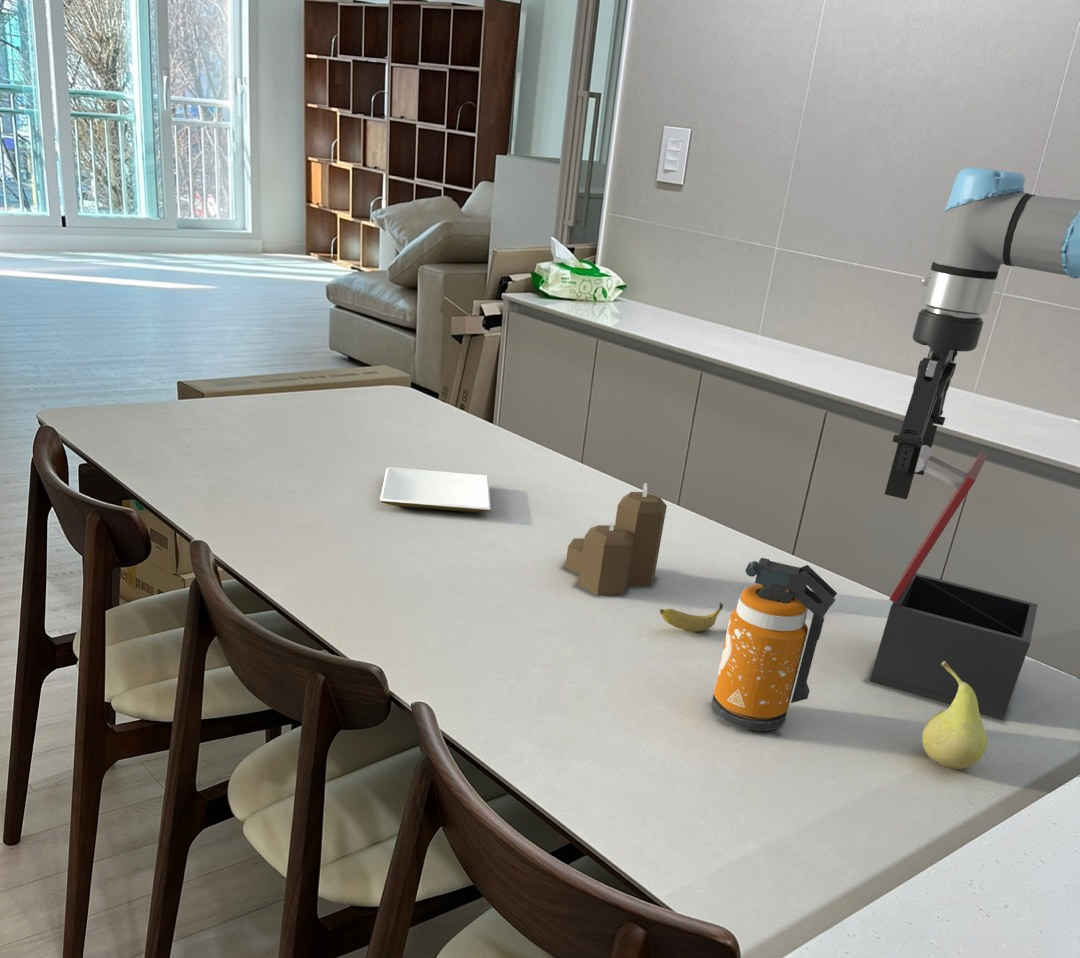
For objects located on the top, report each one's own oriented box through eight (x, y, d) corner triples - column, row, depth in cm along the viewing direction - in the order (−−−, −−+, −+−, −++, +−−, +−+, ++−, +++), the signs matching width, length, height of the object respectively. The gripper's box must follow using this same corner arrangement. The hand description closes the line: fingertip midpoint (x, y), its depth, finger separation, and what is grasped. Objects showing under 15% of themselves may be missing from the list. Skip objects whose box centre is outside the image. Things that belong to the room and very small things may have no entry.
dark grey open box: (1011, 676, 147) (1038, 604, 142) (1002, 720, 135) (1030, 642, 130) (889, 642, 153) (909, 571, 148) (869, 681, 141) (891, 605, 136)
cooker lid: (987, 455, 138) (932, 426, 139) (975, 480, 125) (914, 449, 127) (914, 569, 147) (862, 541, 149) (895, 603, 135) (840, 572, 137)
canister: (717, 691, 133) (750, 542, 124) (805, 714, 131) (845, 563, 121) (703, 723, 126) (736, 566, 116) (796, 747, 123) (838, 589, 114)
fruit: (966, 787, 119) (1000, 694, 114) (902, 761, 123) (932, 669, 117) (984, 765, 124) (1017, 675, 118) (922, 740, 128) (951, 652, 122)
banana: (660, 638, 146) (665, 611, 144) (652, 630, 147) (657, 604, 146) (722, 632, 150) (728, 606, 148) (713, 625, 151) (718, 599, 150)
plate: (487, 485, 197) (488, 475, 196) (489, 520, 180) (490, 508, 179) (386, 477, 195) (386, 466, 194) (379, 510, 178) (379, 499, 177)
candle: (639, 559, 171) (654, 469, 164) (670, 594, 160) (687, 499, 153) (559, 559, 168) (570, 467, 160) (584, 594, 156) (598, 497, 149)
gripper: (935, 298, 138) (892, 457, 148) (903, 316, 118) (856, 500, 128) (994, 308, 135) (947, 469, 145) (973, 328, 115) (919, 514, 125)
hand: (904, 484), depth 136 cm, fingers open, 13 cm apart
